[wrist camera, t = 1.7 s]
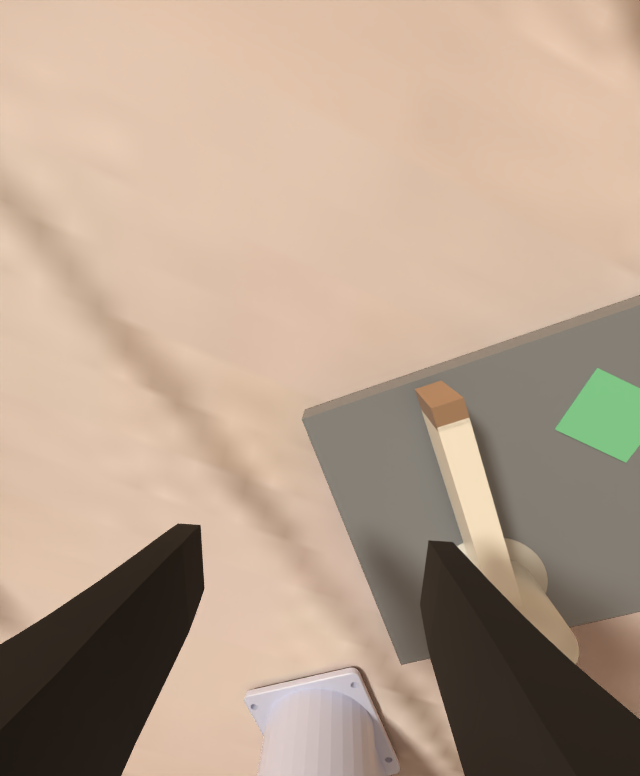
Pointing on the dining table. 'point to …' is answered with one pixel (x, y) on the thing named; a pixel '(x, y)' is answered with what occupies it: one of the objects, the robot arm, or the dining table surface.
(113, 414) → the dining table surface
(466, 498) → the brown-capped cream post
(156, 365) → the dining table surface
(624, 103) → the dining table surface
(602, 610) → the dial board
